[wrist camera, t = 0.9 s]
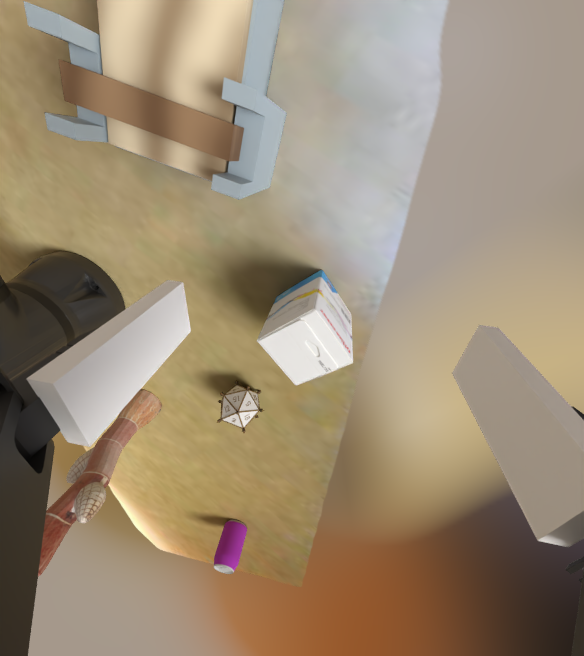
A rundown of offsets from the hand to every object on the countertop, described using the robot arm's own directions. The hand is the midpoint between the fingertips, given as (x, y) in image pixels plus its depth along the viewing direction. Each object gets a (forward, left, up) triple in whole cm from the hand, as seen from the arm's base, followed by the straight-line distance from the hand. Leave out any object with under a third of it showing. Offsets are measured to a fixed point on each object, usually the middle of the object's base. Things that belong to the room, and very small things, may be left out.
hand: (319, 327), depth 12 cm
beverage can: (+6, -100, -26) cm, 104 cm away
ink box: (+2, -12, -26) cm, 28 cm away
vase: (-24, -49, -25) cm, 61 cm away
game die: (-4, -35, -26) cm, 44 cm away
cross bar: (-17, +5, -17) cm, 25 cm away
